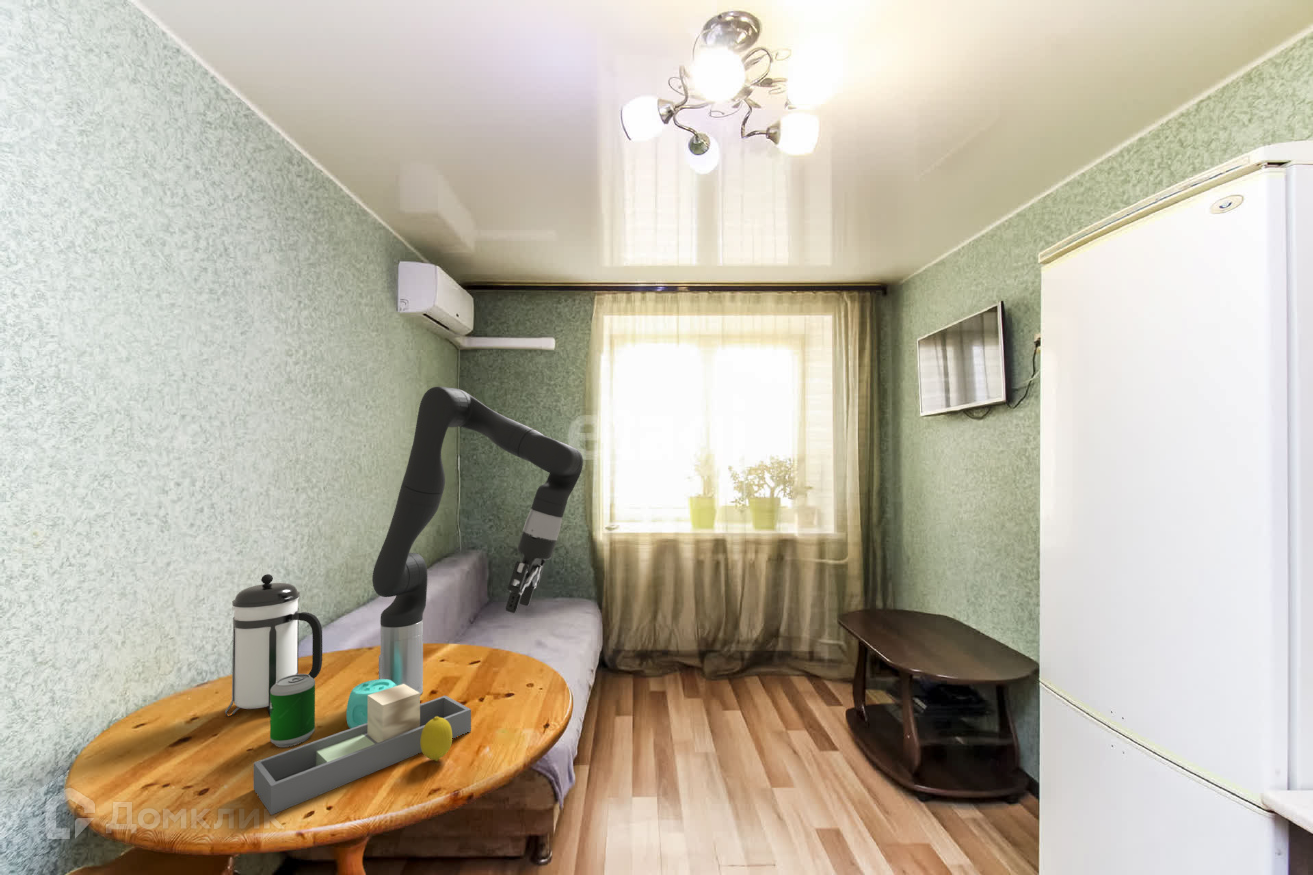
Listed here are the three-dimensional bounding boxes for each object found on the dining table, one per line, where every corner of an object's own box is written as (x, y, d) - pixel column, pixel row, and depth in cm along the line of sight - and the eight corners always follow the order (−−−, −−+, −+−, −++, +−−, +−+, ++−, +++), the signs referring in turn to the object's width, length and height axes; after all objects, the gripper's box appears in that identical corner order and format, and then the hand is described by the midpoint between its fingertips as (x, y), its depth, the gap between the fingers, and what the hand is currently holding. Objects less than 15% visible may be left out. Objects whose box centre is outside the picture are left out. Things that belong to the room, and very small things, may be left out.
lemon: (433, 772, 99) (432, 726, 99) (414, 763, 102) (413, 719, 102) (458, 757, 103) (458, 714, 104) (439, 749, 106) (439, 707, 107)
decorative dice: (359, 717, 120) (359, 680, 121) (398, 713, 122) (398, 677, 122) (345, 735, 113) (346, 695, 113) (388, 731, 114) (388, 691, 115)
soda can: (323, 733, 114) (323, 674, 114) (288, 752, 107) (289, 688, 107) (296, 728, 116) (297, 670, 117) (260, 746, 109) (261, 684, 109)
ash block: (403, 721, 112) (403, 683, 112) (419, 732, 107) (419, 692, 108) (367, 734, 107) (367, 695, 107) (382, 746, 102) (382, 705, 102)
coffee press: (228, 729, 116) (229, 585, 117) (222, 704, 128) (224, 574, 129) (322, 704, 128) (323, 573, 129) (309, 683, 140) (310, 564, 141)
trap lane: (445, 716, 120) (445, 695, 120) (471, 731, 113) (470, 709, 113) (253, 789, 94) (253, 762, 95) (271, 814, 87) (271, 785, 88)
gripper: (534, 527, 126) (512, 597, 125) (513, 529, 112) (488, 608, 110) (564, 537, 125) (543, 607, 124) (547, 540, 111) (523, 619, 110)
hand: (517, 607), depth 117 cm, fingers open, 8 cm apart
